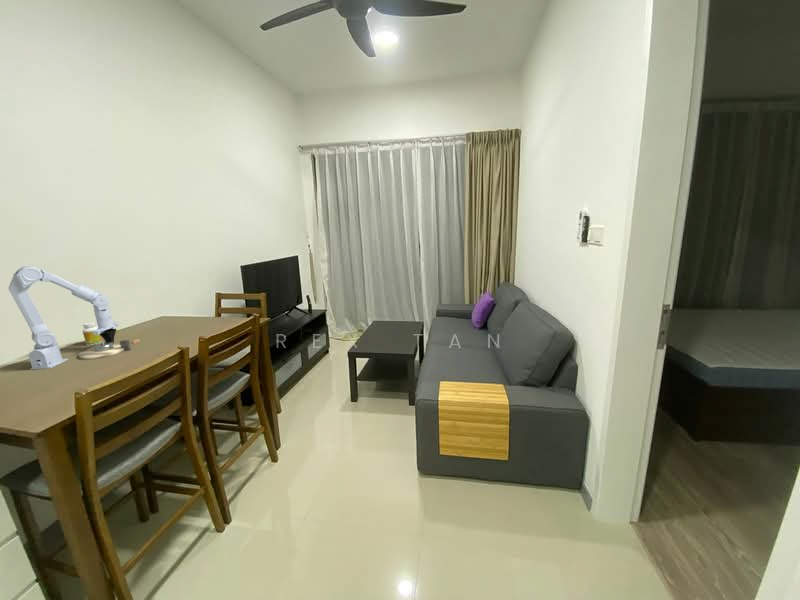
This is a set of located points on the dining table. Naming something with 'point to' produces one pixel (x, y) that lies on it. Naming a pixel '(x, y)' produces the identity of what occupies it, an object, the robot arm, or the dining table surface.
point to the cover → (103, 346)
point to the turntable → (118, 348)
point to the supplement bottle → (91, 334)
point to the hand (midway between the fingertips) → (110, 344)
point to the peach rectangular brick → (135, 340)
